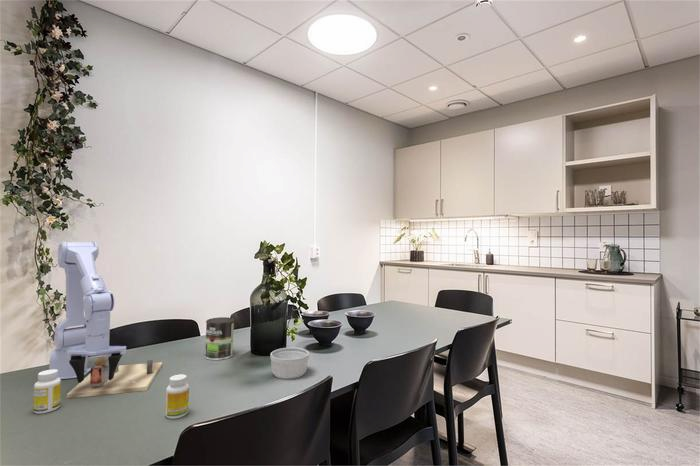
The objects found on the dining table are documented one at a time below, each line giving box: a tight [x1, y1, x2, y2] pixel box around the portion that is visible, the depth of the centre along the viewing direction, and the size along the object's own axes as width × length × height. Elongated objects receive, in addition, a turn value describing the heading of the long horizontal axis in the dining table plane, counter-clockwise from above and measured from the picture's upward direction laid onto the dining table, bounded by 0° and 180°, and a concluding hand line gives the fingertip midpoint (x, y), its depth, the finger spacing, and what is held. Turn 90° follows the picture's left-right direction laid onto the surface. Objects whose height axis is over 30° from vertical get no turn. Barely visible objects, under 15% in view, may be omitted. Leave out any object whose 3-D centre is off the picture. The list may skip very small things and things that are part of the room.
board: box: [66, 356, 163, 399], centre depth 112 cm, size 20×22×5 cm
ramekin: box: [269, 347, 310, 380], centre depth 120 cm, size 13×13×7 cm
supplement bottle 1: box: [32, 369, 62, 415], centre depth 92 cm, size 5×5×10 cm
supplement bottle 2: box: [164, 373, 190, 420], centre depth 91 cm, size 5×5×10 cm
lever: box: [90, 364, 120, 387], centre depth 110 cm, size 16×4×6 cm, turn 18°
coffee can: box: [204, 316, 235, 361], centre depth 137 cm, size 10×10×14 cm
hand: (96, 380), depth 103 cm, fingers open, 7 cm apart
